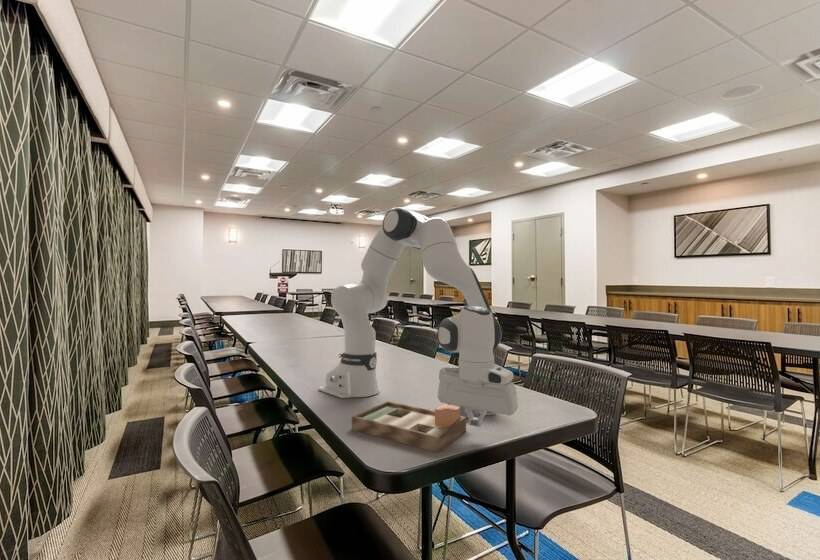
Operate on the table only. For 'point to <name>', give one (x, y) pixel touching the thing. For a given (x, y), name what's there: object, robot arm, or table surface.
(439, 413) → the block
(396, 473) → the table surface
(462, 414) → the stone block
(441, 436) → the board
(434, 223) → the robot arm
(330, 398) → the table surface
